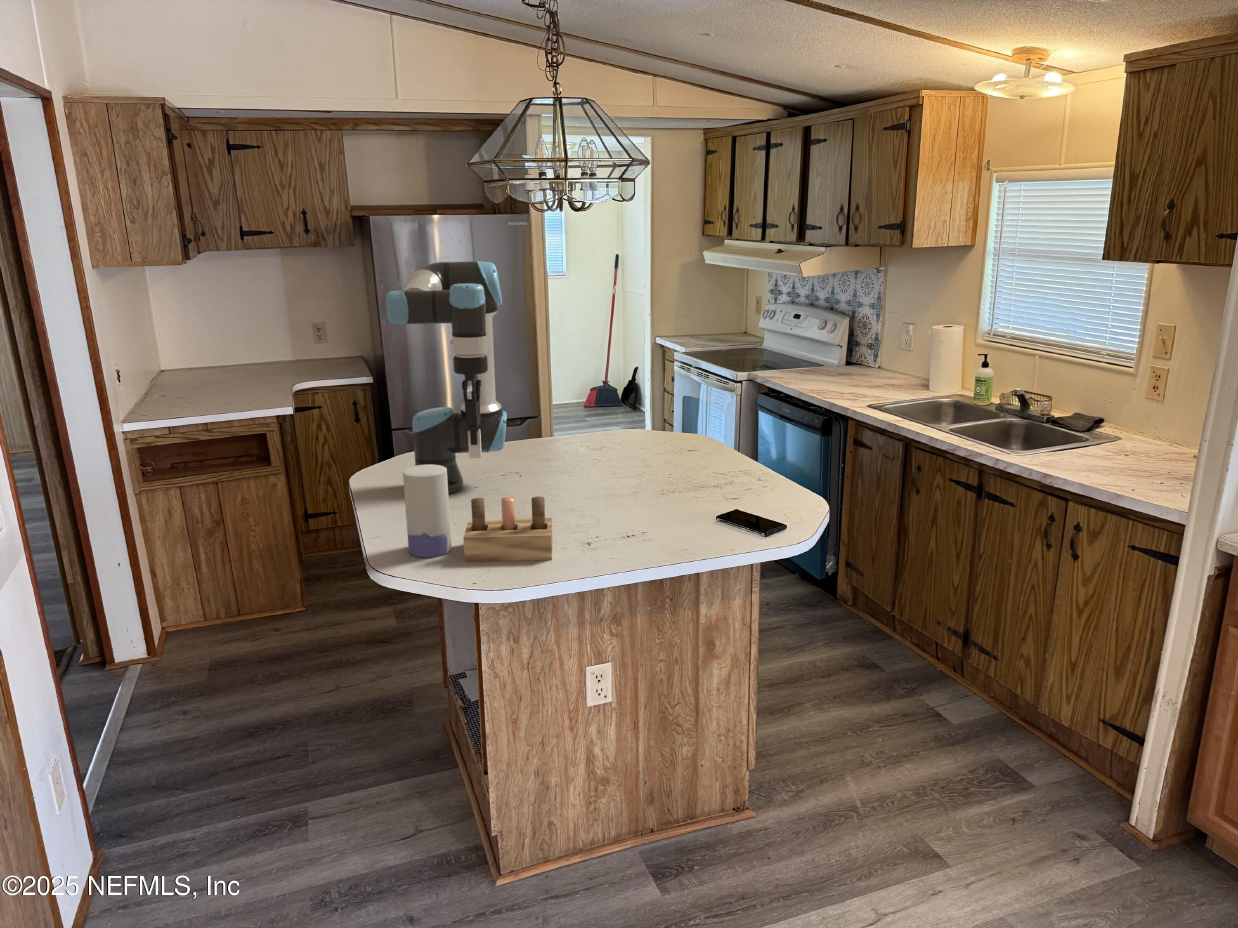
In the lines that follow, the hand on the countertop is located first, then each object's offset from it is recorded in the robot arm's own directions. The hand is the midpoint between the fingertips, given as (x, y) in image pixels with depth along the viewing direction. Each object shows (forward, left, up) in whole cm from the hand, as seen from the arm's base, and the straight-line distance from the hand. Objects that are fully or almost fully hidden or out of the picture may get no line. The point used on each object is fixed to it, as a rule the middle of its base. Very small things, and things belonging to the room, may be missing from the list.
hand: (475, 457), depth 198 cm
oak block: (0, +7, -23) cm, 24 cm away
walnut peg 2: (0, +14, -18) cm, 23 cm away
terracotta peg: (0, +7, -18) cm, 20 cm away
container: (-2, -12, -24) cm, 26 cm away
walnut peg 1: (0, 0, -18) cm, 18 cm away
